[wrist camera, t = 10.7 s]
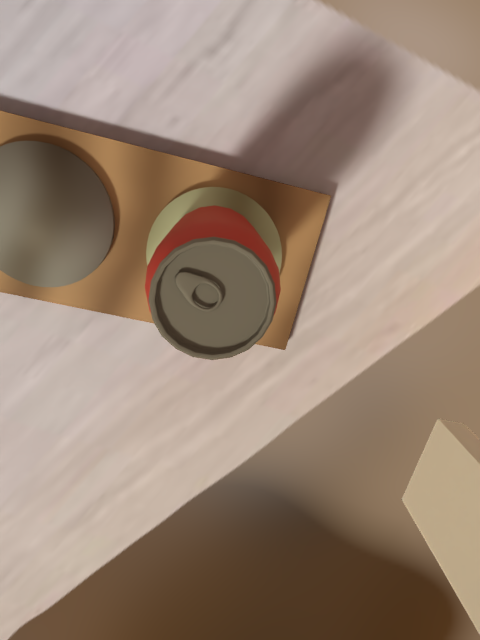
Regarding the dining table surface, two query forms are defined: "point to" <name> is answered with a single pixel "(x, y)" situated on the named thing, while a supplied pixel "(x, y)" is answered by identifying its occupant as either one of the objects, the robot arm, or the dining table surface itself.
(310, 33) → the dining table surface
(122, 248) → the seat board
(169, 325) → the beer can
